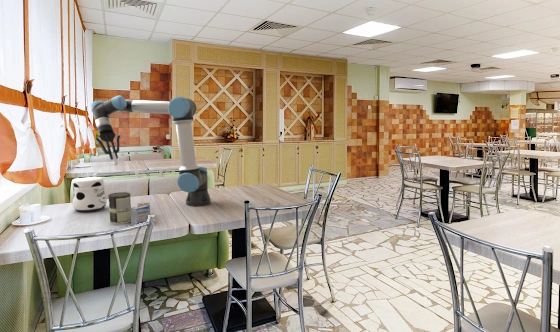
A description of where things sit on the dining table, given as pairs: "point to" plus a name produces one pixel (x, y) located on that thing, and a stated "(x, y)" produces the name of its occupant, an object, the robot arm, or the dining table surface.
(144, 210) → the medicine box
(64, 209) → the dining table surface
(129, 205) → the coffee can
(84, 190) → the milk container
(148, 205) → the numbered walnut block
